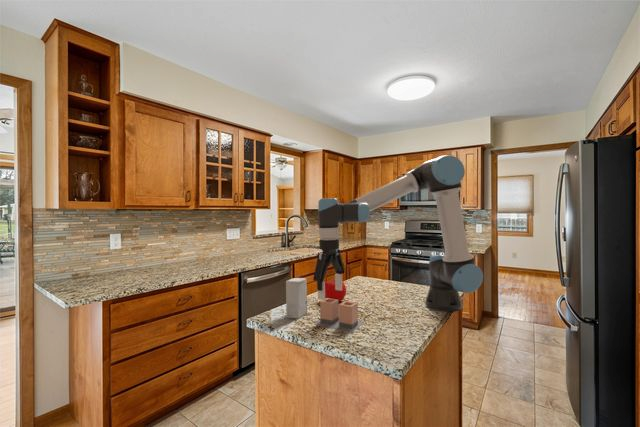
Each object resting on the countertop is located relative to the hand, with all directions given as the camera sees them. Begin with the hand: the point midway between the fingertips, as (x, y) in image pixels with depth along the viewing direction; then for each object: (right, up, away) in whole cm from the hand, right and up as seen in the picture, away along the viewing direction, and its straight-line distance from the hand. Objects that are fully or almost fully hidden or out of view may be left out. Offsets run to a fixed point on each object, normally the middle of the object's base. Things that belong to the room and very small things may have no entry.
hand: (330, 294), depth 118 cm
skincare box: (-14, -11, +9) cm, 20 cm away
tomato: (+3, -11, +29) cm, 31 cm away
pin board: (+3, -11, -2) cm, 12 cm away
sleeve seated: (+7, -10, -4) cm, 13 cm away
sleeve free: (0, -10, 0) cm, 10 cm away
